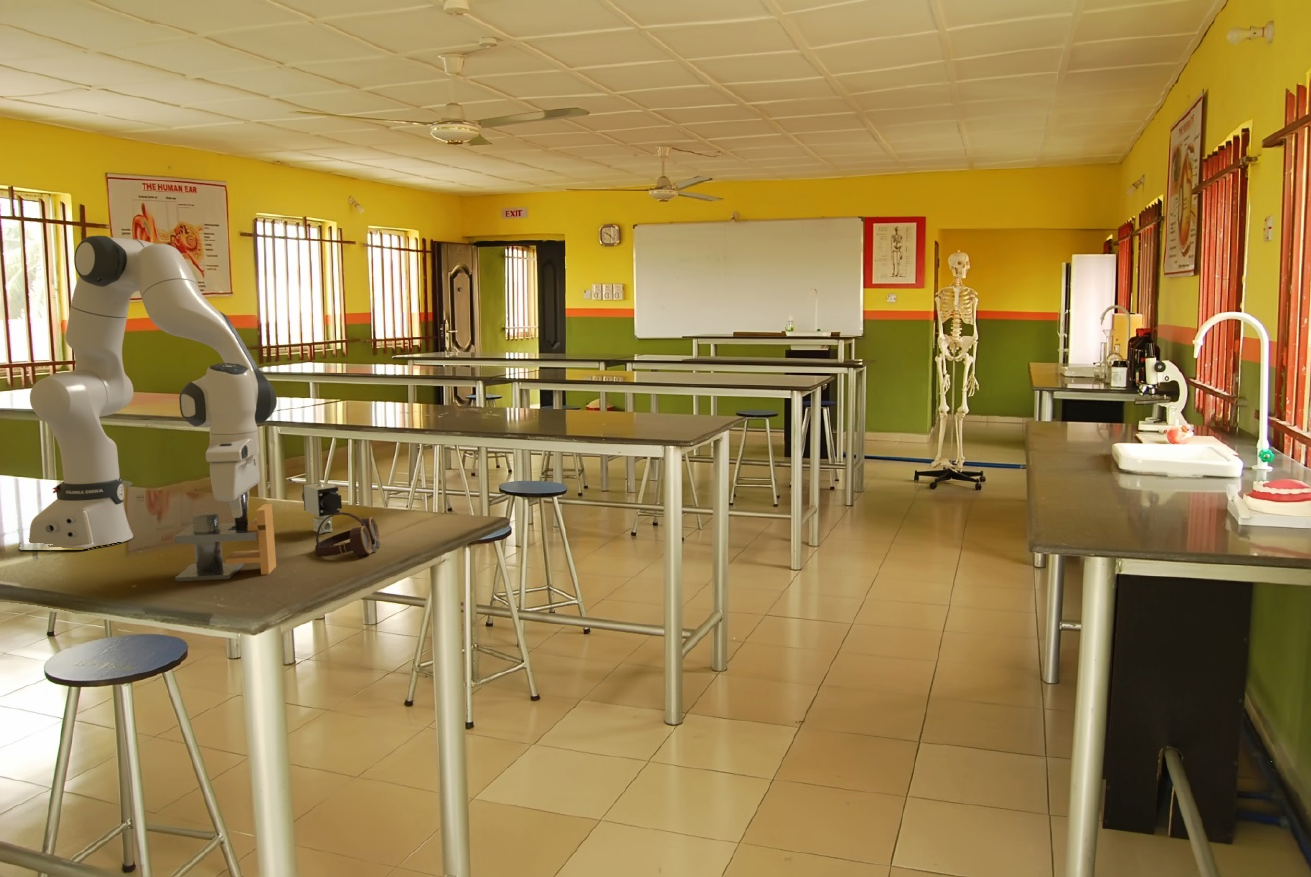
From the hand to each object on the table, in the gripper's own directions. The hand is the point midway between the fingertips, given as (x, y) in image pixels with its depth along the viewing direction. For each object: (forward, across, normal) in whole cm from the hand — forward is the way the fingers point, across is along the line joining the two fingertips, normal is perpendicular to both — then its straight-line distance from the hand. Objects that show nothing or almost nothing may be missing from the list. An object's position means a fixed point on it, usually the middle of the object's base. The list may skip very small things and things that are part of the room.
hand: (240, 514), depth 199 cm
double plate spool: (+12, 0, -4) cm, 12 cm away
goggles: (+12, -13, +18) cm, 25 cm away
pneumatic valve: (+12, -33, +10) cm, 36 cm away
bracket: (+12, 0, +1) cm, 12 cm away
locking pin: (+3, 0, 0) cm, 3 cm away
